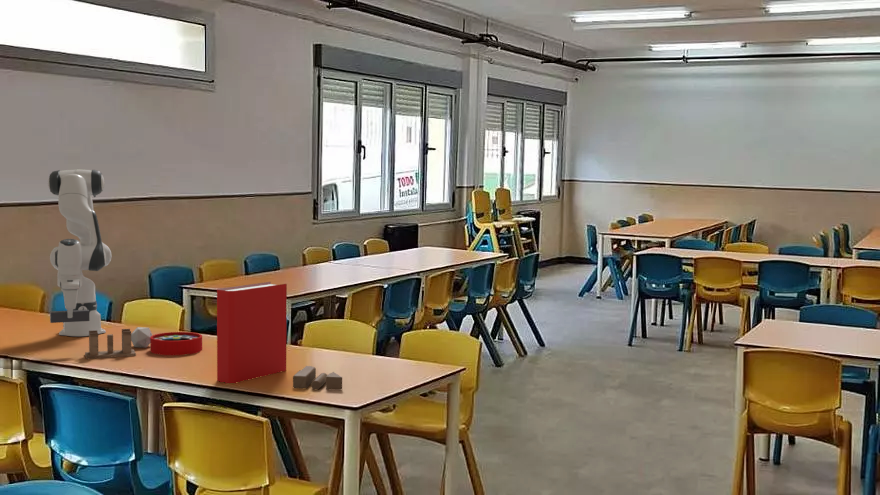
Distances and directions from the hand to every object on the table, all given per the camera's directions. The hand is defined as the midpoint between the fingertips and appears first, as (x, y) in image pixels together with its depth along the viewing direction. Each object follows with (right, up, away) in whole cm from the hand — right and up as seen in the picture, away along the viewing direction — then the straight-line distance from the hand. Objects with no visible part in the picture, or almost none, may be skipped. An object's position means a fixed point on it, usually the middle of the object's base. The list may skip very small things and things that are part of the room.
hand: (69, 316), depth 364 cm
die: (+23, -14, +17) cm, 31 cm away
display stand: (+16, -15, -1) cm, 22 cm away
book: (+77, -19, -30) cm, 84 cm away
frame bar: (0, -2, 0) cm, 2 cm away
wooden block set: (+103, -21, -40) cm, 113 cm away
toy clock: (+38, -15, +11) cm, 42 cm away
